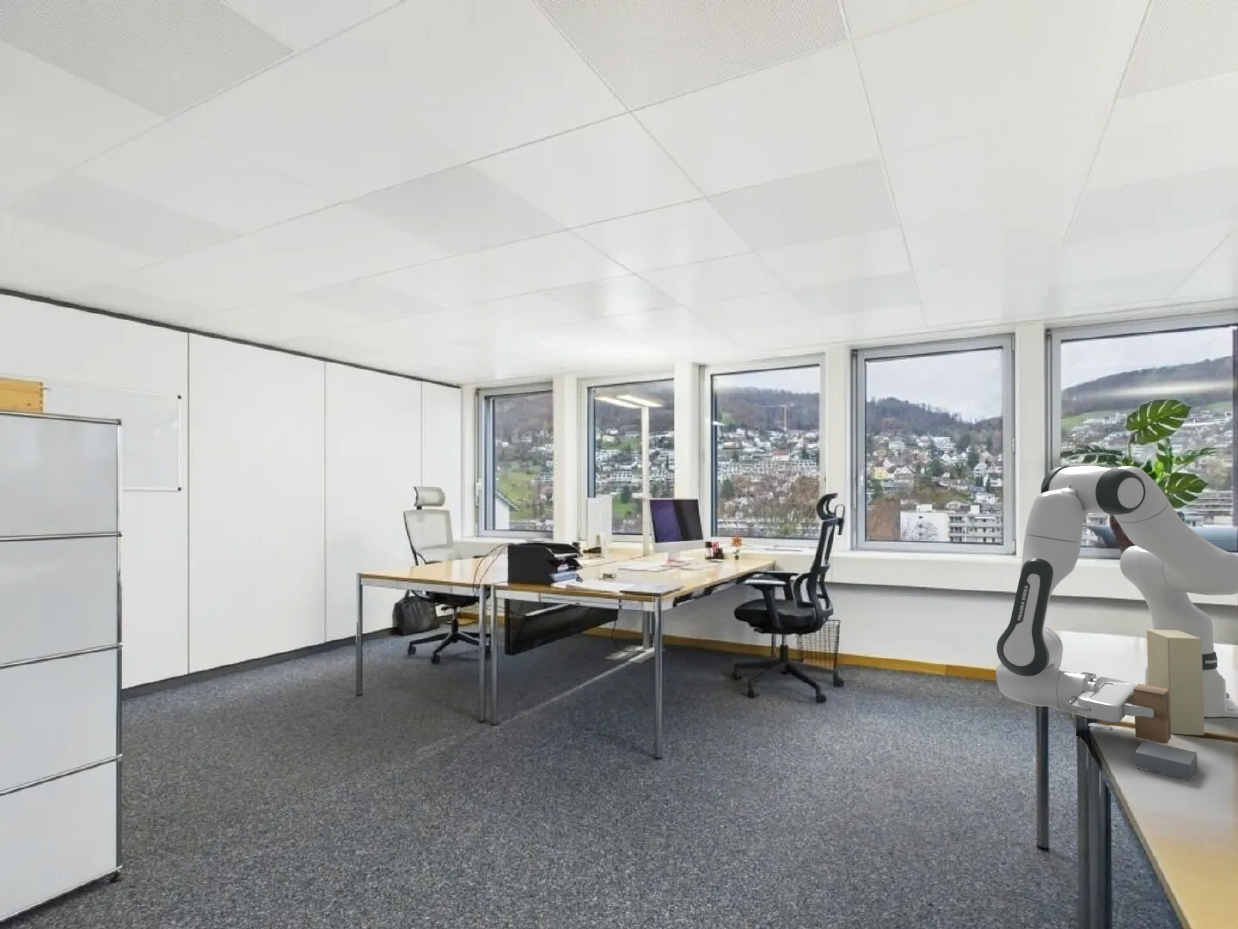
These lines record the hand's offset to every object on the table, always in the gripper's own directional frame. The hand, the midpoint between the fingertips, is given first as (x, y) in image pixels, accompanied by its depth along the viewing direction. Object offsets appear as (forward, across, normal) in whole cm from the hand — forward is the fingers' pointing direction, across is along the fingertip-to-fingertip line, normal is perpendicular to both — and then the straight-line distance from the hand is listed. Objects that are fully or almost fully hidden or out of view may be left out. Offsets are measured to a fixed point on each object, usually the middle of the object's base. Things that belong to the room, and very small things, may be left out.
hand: (1157, 709), depth 135 cm
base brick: (+3, -11, +8) cm, 14 cm away
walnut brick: (-1, 0, +6) cm, 6 cm away
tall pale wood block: (+1, +16, +8) cm, 18 cm away
